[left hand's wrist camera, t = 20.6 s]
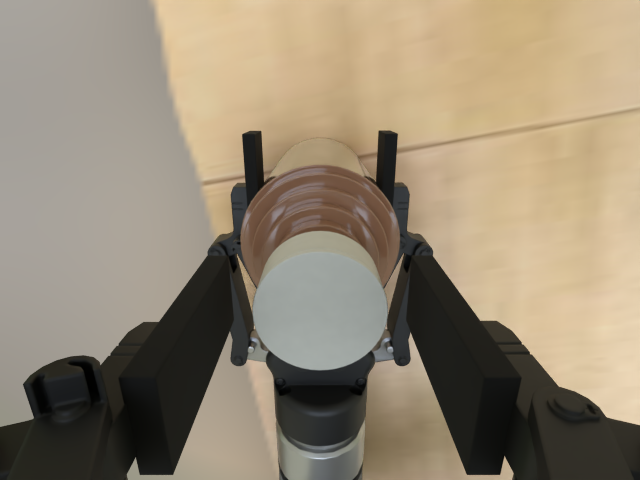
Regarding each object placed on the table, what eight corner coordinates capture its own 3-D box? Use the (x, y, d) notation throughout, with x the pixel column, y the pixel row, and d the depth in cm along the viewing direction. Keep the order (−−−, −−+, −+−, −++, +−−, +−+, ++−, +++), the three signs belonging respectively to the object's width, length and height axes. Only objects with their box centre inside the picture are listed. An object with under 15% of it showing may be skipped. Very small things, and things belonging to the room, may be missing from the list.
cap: (238, 265, 14) (225, 291, 12) (344, 208, 13) (348, 226, 11) (299, 352, 16) (296, 389, 14) (398, 305, 15) (410, 337, 13)
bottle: (361, 233, 33) (414, 402, 15) (271, 227, 33) (208, 390, 14) (372, 141, 30) (455, 203, 12) (274, 134, 30) (202, 185, 12)
